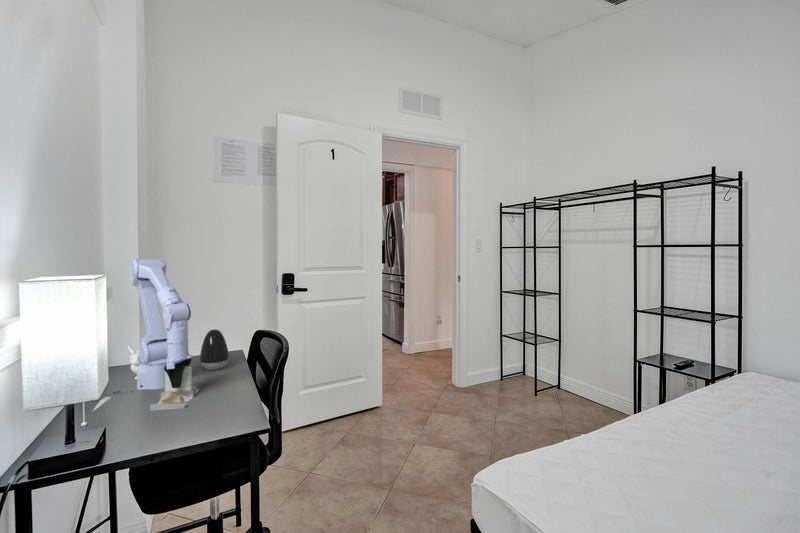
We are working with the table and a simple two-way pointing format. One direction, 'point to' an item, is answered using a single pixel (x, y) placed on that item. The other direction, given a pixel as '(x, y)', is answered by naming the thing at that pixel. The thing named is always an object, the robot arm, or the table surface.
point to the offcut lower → (173, 402)
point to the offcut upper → (171, 398)
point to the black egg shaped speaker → (214, 351)
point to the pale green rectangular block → (185, 383)
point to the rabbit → (134, 360)
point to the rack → (185, 394)
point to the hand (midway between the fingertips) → (178, 385)
